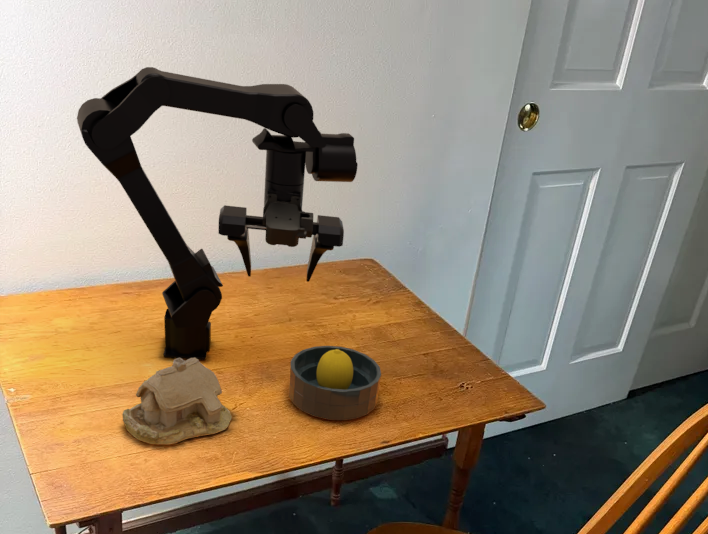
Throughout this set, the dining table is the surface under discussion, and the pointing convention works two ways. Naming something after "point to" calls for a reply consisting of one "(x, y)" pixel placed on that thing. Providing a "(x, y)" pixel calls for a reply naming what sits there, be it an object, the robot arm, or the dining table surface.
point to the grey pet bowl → (333, 401)
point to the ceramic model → (177, 405)
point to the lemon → (335, 370)
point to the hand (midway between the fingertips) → (278, 278)
